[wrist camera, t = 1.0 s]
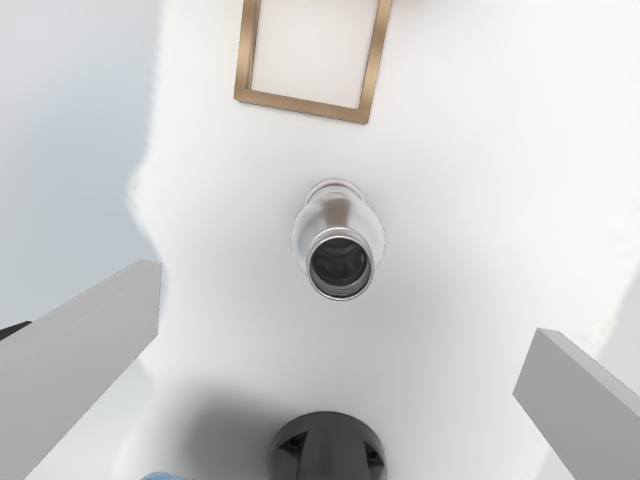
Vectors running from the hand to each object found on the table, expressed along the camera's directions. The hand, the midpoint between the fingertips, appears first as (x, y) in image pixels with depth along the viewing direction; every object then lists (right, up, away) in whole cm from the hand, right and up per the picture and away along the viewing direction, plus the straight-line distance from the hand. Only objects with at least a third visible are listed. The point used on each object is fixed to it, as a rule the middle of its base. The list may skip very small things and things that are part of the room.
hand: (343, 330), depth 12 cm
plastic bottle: (+1, +7, +26) cm, 27 cm away
